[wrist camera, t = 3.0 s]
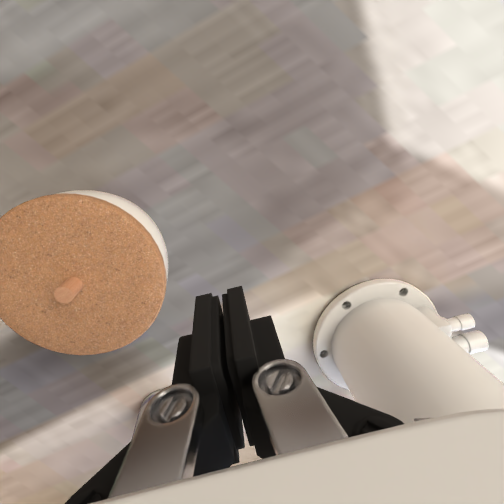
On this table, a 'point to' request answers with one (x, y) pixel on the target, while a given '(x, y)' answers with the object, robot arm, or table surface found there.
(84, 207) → the trinket box
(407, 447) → the robot arm
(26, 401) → the table surface
